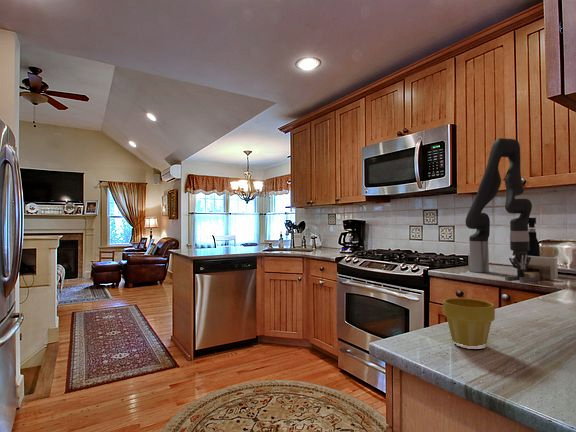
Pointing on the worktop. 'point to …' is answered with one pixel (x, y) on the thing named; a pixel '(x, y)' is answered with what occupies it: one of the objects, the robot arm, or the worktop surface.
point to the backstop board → (546, 261)
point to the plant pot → (469, 320)
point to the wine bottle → (533, 239)
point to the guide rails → (522, 278)
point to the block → (539, 270)
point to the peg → (531, 274)
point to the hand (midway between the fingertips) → (520, 277)
